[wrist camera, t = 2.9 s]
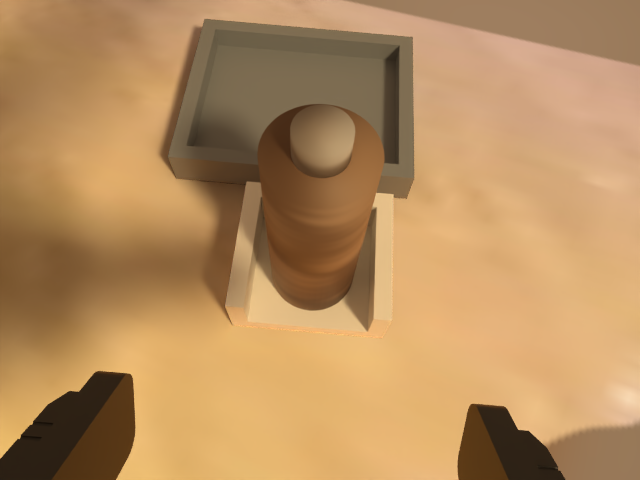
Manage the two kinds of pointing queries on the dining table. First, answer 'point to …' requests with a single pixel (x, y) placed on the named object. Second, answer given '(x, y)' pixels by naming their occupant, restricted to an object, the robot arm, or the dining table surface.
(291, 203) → the pepper mill
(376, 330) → the caddy slot
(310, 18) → the dining table surface
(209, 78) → the serving tray
